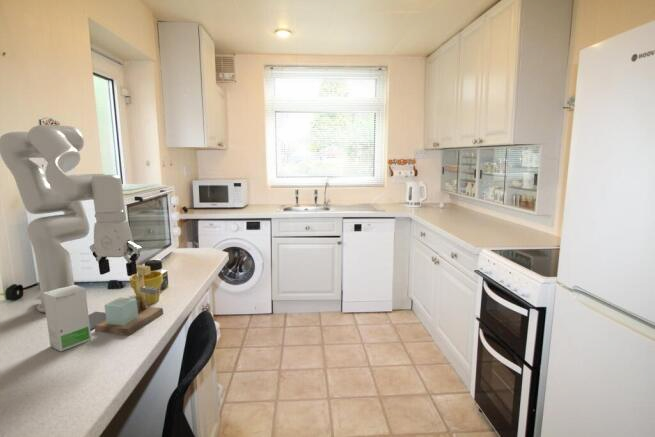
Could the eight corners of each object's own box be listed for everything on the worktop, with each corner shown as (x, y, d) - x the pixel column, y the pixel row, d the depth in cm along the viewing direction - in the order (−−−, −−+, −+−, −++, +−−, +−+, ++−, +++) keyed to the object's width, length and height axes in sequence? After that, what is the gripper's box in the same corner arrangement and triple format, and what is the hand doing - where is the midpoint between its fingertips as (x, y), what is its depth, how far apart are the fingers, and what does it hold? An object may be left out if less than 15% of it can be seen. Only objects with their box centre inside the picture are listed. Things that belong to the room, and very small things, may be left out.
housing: (95, 331, 110) (94, 325, 110) (132, 310, 125) (131, 304, 124) (129, 335, 108) (128, 329, 107) (163, 313, 122) (162, 308, 122)
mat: (65, 328, 112) (65, 326, 112) (95, 313, 123) (95, 311, 123) (89, 331, 110) (89, 329, 110) (118, 315, 121) (118, 314, 121)
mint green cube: (106, 323, 111) (104, 305, 110) (122, 315, 116) (120, 297, 115) (123, 325, 109) (121, 306, 108) (138, 317, 115) (136, 298, 114)
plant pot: (151, 308, 126) (148, 281, 124) (125, 306, 128) (122, 279, 127) (170, 296, 136) (168, 271, 134) (146, 294, 138) (143, 269, 137)
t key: (155, 312, 117) (151, 269, 115) (130, 307, 121) (125, 265, 119) (161, 309, 119) (157, 267, 117) (136, 304, 124) (132, 263, 121)
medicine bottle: (160, 293, 139) (157, 263, 137) (142, 293, 140) (138, 263, 137) (169, 286, 146) (166, 257, 144) (151, 286, 147) (148, 257, 145)
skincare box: (60, 352, 99) (51, 297, 96) (48, 346, 102) (40, 292, 99) (93, 339, 106) (86, 287, 103) (81, 333, 109) (74, 283, 106)
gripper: (75, 219, 106) (84, 276, 108) (126, 220, 101) (133, 279, 104) (97, 215, 113) (104, 268, 116) (145, 215, 109) (152, 271, 111)
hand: (118, 273), depth 110 cm, fingers open, 9 cm apart
